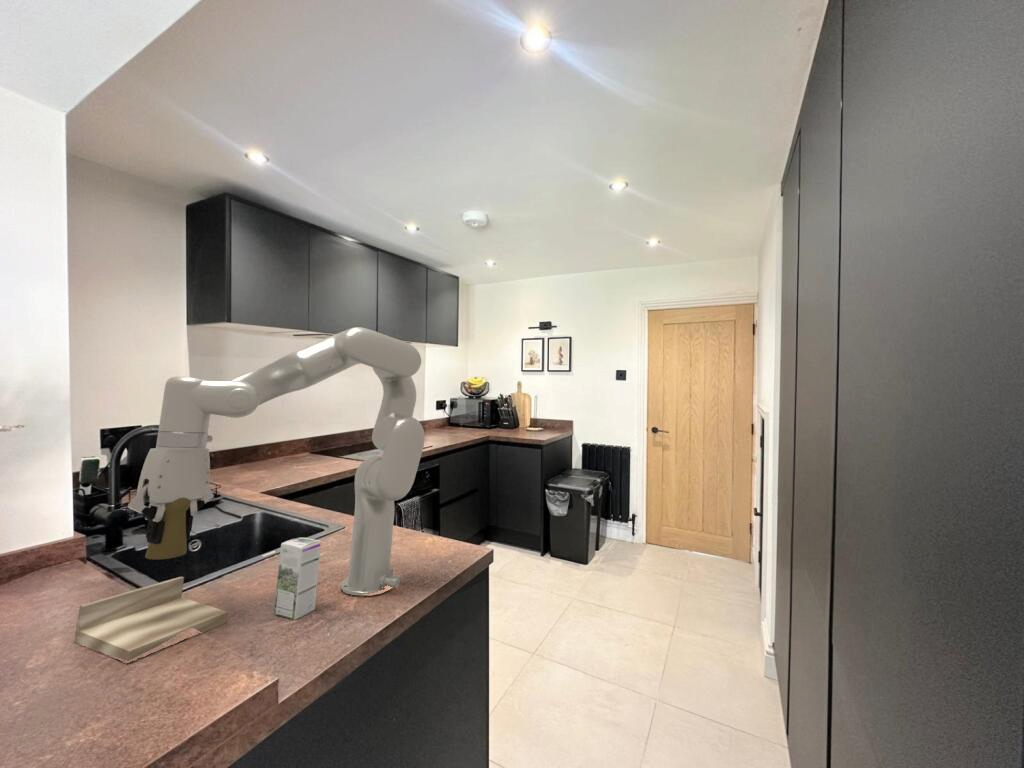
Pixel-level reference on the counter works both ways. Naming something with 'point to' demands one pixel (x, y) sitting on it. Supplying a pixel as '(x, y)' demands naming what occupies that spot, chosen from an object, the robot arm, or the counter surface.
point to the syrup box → (297, 577)
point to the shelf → (142, 619)
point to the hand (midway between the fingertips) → (168, 538)
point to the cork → (172, 532)
